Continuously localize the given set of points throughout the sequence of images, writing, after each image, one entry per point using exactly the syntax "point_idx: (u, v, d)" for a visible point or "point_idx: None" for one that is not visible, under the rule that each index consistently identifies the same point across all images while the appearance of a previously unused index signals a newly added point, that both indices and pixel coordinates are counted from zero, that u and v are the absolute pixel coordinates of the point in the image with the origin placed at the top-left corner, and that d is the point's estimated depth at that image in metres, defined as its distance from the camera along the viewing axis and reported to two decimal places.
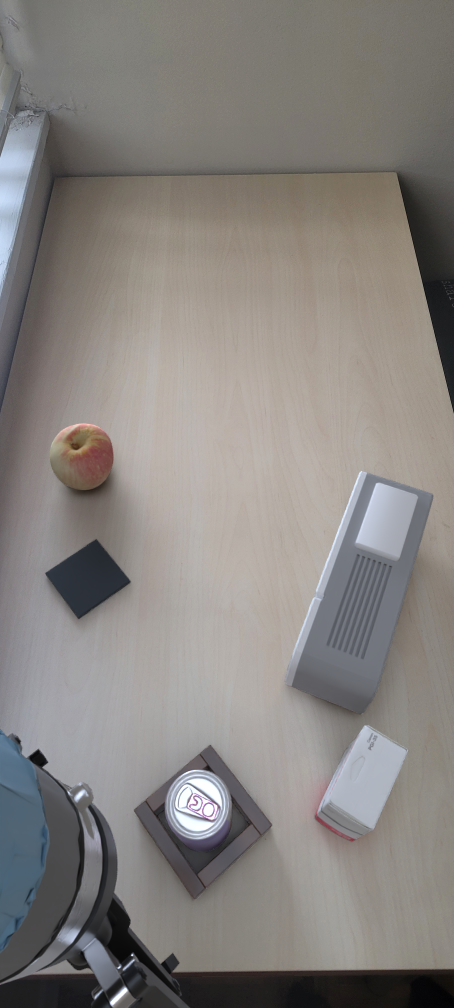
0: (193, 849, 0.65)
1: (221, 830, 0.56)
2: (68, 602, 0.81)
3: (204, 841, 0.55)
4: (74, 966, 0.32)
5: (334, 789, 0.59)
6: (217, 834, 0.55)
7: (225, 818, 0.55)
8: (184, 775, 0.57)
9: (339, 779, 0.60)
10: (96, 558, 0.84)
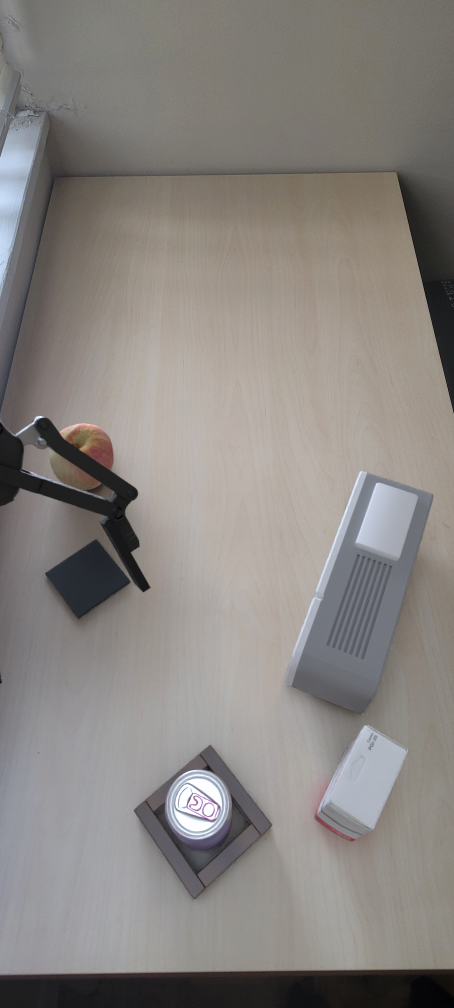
0: (193, 849, 0.65)
1: (221, 830, 0.56)
2: (68, 602, 0.81)
3: (204, 841, 0.55)
4: (35, 476, 0.48)
5: (334, 789, 0.59)
6: (217, 834, 0.55)
7: (225, 818, 0.55)
8: (184, 775, 0.57)
9: (339, 779, 0.60)
10: (96, 558, 0.84)
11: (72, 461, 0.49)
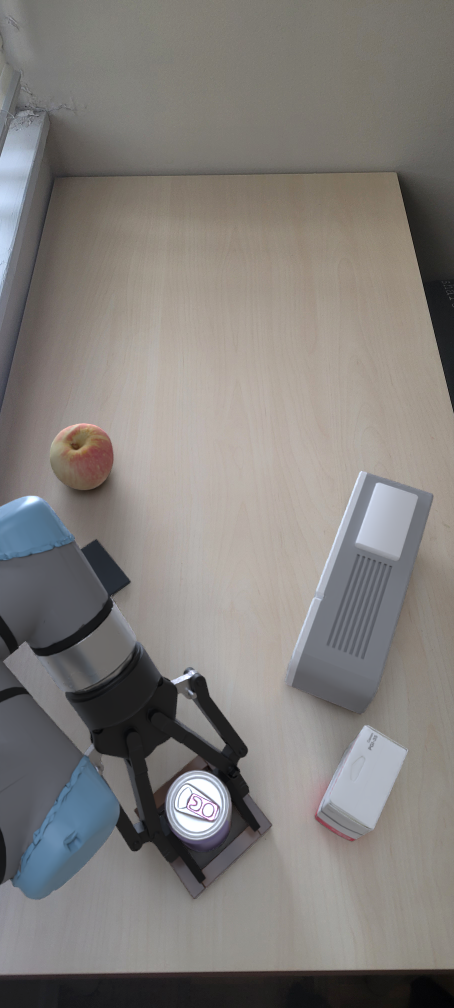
0: (193, 849, 0.65)
1: (221, 830, 0.56)
2: None
3: (204, 841, 0.55)
4: (185, 729, 0.56)
5: (334, 789, 0.59)
6: (217, 834, 0.55)
7: (225, 818, 0.55)
8: (184, 775, 0.57)
9: (339, 779, 0.60)
10: (96, 558, 0.84)
11: (209, 715, 0.58)
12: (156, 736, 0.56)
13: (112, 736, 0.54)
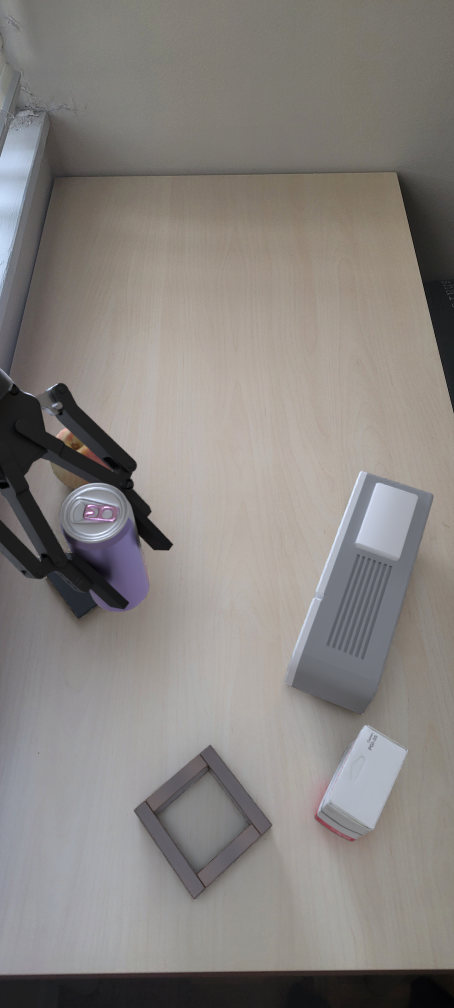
0: None
1: (126, 529, 0.52)
2: (68, 602, 0.81)
3: (111, 544, 0.51)
4: (59, 439, 0.52)
5: (334, 789, 0.59)
6: (123, 534, 0.51)
7: (126, 514, 0.51)
8: (73, 492, 0.53)
9: (339, 779, 0.60)
10: None
11: (83, 427, 0.54)
12: (28, 451, 0.51)
13: None
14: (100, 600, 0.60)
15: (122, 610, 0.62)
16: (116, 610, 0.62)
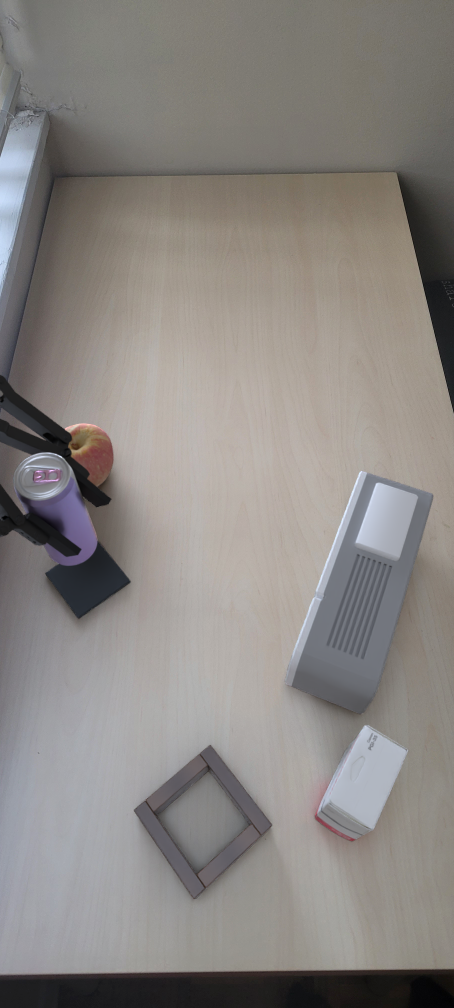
0: (69, 557, 0.72)
1: (70, 486, 0.63)
2: (68, 602, 0.81)
3: (59, 499, 0.63)
4: None
5: (334, 789, 0.59)
6: (68, 490, 0.63)
7: (68, 474, 0.63)
8: (22, 463, 0.64)
9: (339, 779, 0.60)
10: (96, 558, 0.84)
11: (22, 409, 0.65)
12: None
13: None
14: (57, 556, 0.72)
15: (77, 563, 0.73)
16: (72, 563, 0.73)
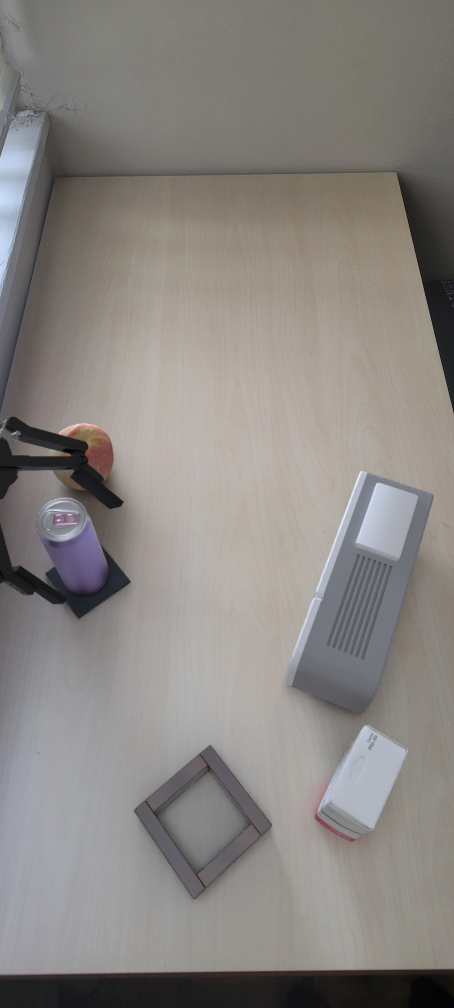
0: (84, 588, 0.79)
1: (87, 528, 0.71)
2: (68, 602, 0.81)
3: (77, 540, 0.70)
4: (25, 455, 0.70)
5: (334, 789, 0.59)
6: (85, 532, 0.70)
7: (85, 517, 0.70)
8: (43, 507, 0.71)
9: (339, 779, 0.60)
10: None
11: (40, 438, 0.72)
12: (4, 478, 0.68)
13: None
14: (73, 587, 0.79)
15: (91, 593, 0.81)
16: (86, 593, 0.81)
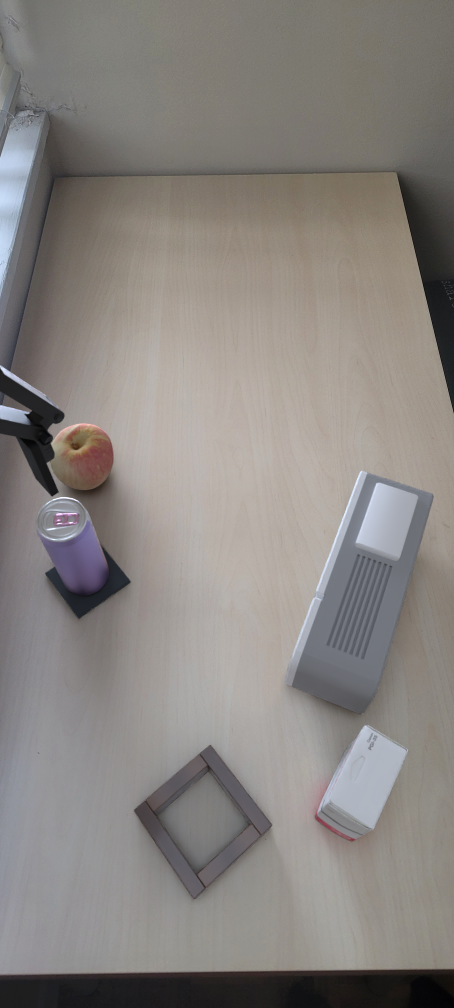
0: (84, 588, 0.79)
1: (87, 528, 0.71)
2: (68, 602, 0.81)
3: (77, 540, 0.70)
4: None
5: (334, 789, 0.59)
6: (85, 532, 0.70)
7: (85, 517, 0.70)
8: (43, 507, 0.71)
9: (339, 779, 0.60)
10: None
11: (9, 394, 0.46)
12: None
13: None
14: (73, 587, 0.79)
15: (91, 593, 0.81)
16: (86, 593, 0.81)
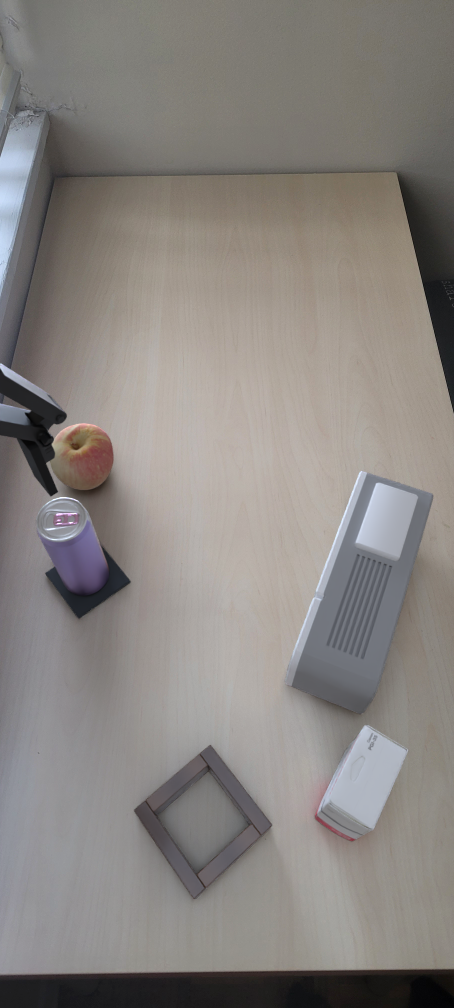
0: (84, 588, 0.79)
1: (87, 528, 0.71)
2: (68, 602, 0.81)
3: (77, 540, 0.70)
4: None
5: (334, 789, 0.59)
6: (85, 532, 0.70)
7: (85, 517, 0.70)
8: (43, 507, 0.71)
9: (339, 779, 0.60)
10: None
11: (9, 396, 0.43)
12: None
13: None
14: (73, 587, 0.79)
15: (91, 593, 0.81)
16: (86, 593, 0.81)
